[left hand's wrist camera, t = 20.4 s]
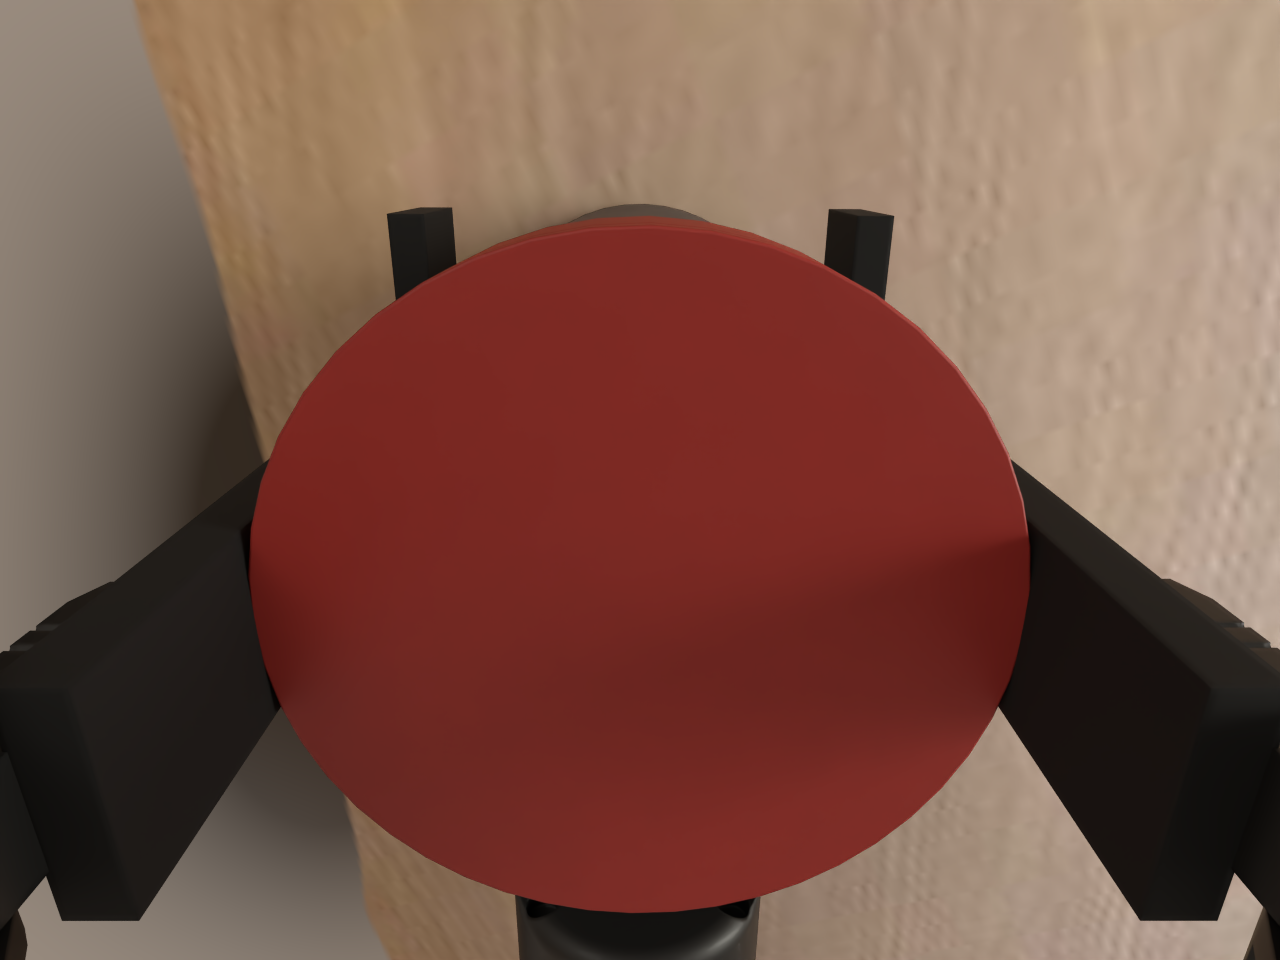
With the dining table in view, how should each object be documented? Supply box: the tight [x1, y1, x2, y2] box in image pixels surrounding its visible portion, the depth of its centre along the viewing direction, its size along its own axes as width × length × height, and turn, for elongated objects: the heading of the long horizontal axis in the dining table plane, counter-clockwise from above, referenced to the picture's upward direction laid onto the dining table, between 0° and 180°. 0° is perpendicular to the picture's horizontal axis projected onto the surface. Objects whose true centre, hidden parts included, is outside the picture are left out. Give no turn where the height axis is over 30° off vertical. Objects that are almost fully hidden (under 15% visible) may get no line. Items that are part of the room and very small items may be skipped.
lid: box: [248, 216, 1030, 913], centre depth 11 cm, size 10×10×2 cm
